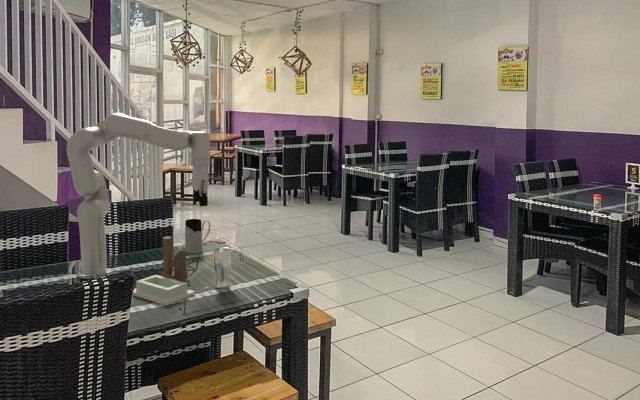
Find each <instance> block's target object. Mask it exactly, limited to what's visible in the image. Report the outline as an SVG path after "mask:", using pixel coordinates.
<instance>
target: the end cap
mask: <svg viewBox="0 0 640 400" xmlns="http://www.w3.org/2000/svg"><path fill="white" fill-rule="evenodd" d="M133 289H134V291H133V295H132V296H135V297H138V298H141V299H144V300H148V301H151V302H153V303H157V304H160V305H164V306H169V305H172V304H174V303H176V302H178V301H181V300H184V299H186V298H187V299H188V298H189V297H192V296H194V295H196V291H195V290H191V289H188V282H187V283H185V282H181V281H178V280H174V279H170V278H166V277H163V276H162V275H159V274H154V275H151V276H148V277H145V278H142V279H138V280H135V288H133Z"/></svg>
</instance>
